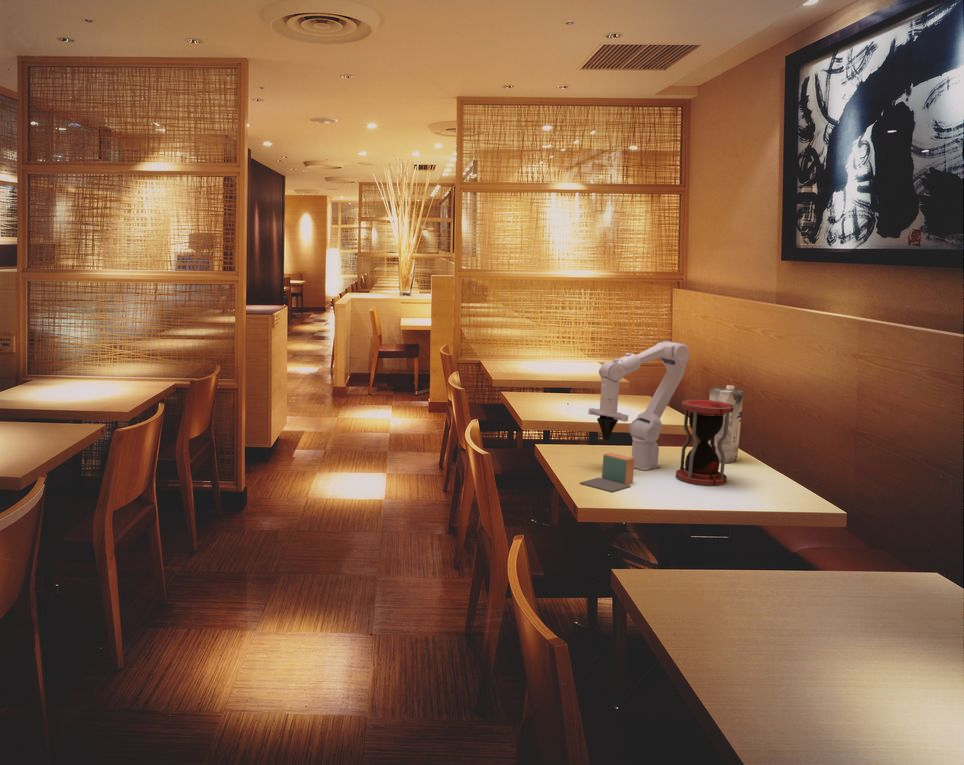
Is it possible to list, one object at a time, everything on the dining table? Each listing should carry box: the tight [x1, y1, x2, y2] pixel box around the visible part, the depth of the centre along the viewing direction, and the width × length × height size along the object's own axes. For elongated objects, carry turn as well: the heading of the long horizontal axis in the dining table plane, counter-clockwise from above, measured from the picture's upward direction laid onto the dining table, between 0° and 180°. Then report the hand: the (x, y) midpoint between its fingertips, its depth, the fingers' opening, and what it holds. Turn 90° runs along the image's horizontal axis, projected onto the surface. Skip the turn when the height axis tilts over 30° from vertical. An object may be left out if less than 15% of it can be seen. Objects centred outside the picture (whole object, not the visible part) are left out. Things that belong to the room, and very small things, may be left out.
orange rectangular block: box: [601, 452, 635, 485], centre depth 266 cm, size 4×9×8 cm, turn 47°
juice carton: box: [708, 385, 744, 464], centre depth 300 cm, size 9×10×27 cm
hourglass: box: [675, 399, 733, 487], centre depth 272 cm, size 16×16×25 cm
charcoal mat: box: [579, 477, 632, 493], centre depth 261 cm, size 10×12×1 cm
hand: (606, 439), depth 278 cm, fingers closed
